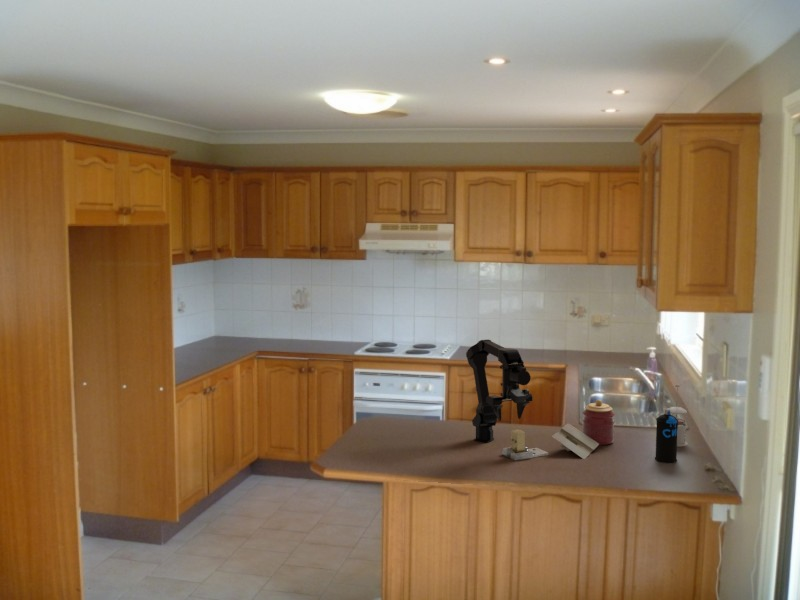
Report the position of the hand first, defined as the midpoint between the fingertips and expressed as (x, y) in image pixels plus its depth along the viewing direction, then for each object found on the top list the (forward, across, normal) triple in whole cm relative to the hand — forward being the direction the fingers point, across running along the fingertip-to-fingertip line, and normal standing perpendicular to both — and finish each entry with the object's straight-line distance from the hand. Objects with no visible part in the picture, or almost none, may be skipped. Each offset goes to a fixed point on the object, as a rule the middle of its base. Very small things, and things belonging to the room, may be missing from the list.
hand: (509, 419), depth 313 cm
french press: (+14, +70, -18) cm, 73 cm away
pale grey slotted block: (+14, +25, -11) cm, 30 cm away
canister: (+13, +42, -2) cm, 45 cm away
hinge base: (+13, +4, -6) cm, 15 cm away
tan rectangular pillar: (+13, 0, -6) cm, 15 cm away
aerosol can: (+14, +49, -34) cm, 62 cm away
